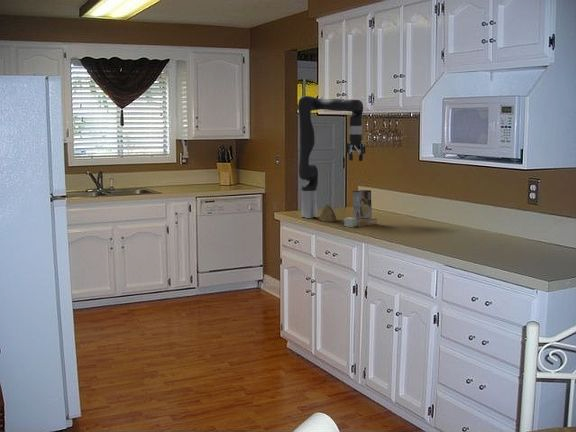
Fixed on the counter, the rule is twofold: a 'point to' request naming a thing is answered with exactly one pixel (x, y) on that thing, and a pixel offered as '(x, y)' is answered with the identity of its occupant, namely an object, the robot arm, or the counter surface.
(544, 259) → the counter surface
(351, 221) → the sage cube
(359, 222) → the oak block
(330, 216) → the rock
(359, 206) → the coffee box
